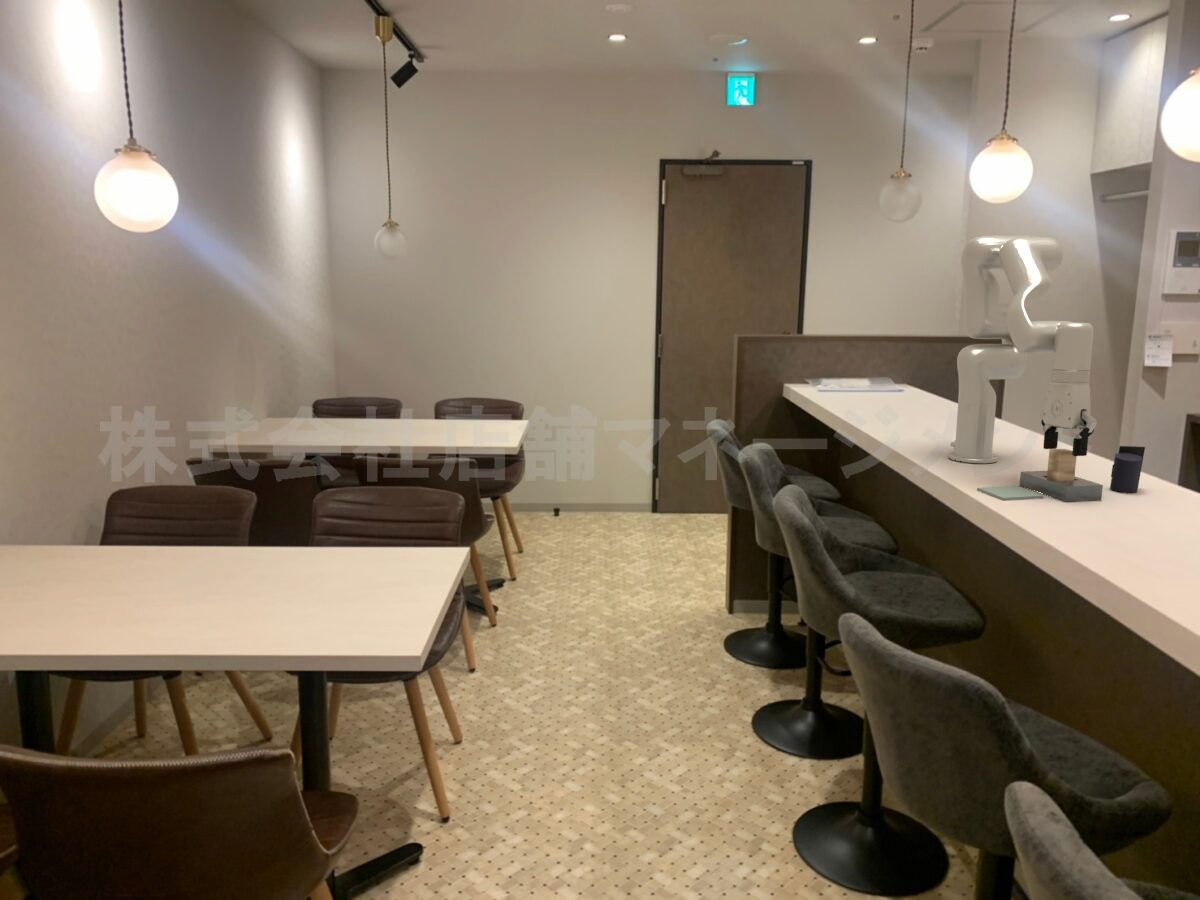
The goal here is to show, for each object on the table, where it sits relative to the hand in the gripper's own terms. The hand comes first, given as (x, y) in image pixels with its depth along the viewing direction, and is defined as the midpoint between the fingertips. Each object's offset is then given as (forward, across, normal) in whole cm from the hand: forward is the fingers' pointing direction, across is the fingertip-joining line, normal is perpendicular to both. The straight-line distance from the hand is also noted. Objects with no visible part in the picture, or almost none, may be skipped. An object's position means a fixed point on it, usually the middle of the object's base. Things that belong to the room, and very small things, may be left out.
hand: (1064, 452), depth 200 cm
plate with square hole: (+10, -1, 0) cm, 10 cm away
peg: (+10, -1, 0) cm, 10 cm away
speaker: (+10, 0, +17) cm, 20 cm away
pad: (+10, -2, -12) cm, 15 cm away
